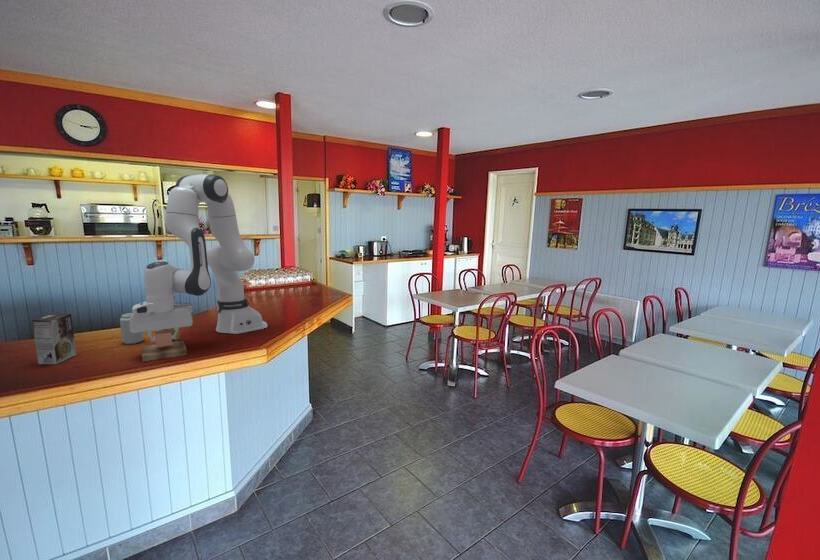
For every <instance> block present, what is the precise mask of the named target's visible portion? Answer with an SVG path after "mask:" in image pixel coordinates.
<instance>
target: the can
mask: <svg viewBox="0 0 820 560" xmlns="http://www.w3.org/2000/svg"><path fill="white" fill-rule="evenodd" d="M132 313H133V312H129V313H123V314H122V315H121V317H120V318H119V324H120V335H121V336H120V337H121V343H123V344H125V345H135V344H136V343H137V344H140V343H142V342H143V341H144V340H145V332H139V333H132V332H130V317H131V314H132ZM141 341H142V342H141ZM139 342H140V343H139ZM137 344H136V345H137Z"/></svg>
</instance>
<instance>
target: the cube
mask: <svg viewBox="0 0 820 560" xmlns="http://www.w3.org/2000/svg"><path fill="white" fill-rule="evenodd" d="M154 333H155V334H154V335H155V337H156V342H155V344H156V347H163V346H170V345H172V337H171V330H170V329H169V330H155V331H154Z"/></svg>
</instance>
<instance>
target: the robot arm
mask: <svg viewBox="0 0 820 560" xmlns="http://www.w3.org/2000/svg"><path fill="white" fill-rule="evenodd" d="M168 193H169V194H168V198H167V200H166V201H167V202H166V208H165V225H166V228H167V230H168V231H169V232H170V234H172V235H173V236H175V237H176V238H178V239H180V240H182V241H183V242H184V243H185V244H186V245H187V247H188V249H189V257H190V269H187V268H179V267H176V266H173V265H172V264H170V263H169V262H168V261H155V262H151V263H149V264H147V265H146V266H145V268H144V269H145V270H144V274H143V275H144V277H143V278H144V288H145V290H146V296H145V301H143V302H140V303H137V304H134V305H133V306H132V308H131V311H132V312H131V313H132V314H131V317H130V332H132V333H139V332H144V333H146V335H147V336H148V337H149V338H150V339H151V340H150V341H151V343H156V337H155V336H153V335H152V332H153V331H154V332H155V331H160V330H164V329H172V328H174V331H175V332H174V333H173V334H171V337H172V340H173V339H176V334H177V332H178V328H179V329H180V328H185V327H192V325H193V324H194V322H193V320H194V319H193V314H192V313H193V311H194V309H193V305H192V304H191V303H188V302H183V303H175V299H174V297H175V295H174V293H179V294H184V295H185V294H186V295H190V296H191V295H192V296H196V297H199V296H202V295H204V294H206V293H207V292H208V290H210V287H211V284H212V279H211V274H210V272H209V268H210V269H211V271H212V274H213V277H214V279H215V283H216V287H217V288H216V289H217V301H216V309H217V313H218V315H217V323H216V324H217V325H216V328H215V331H216V332H217V333H221V334H233V335H239V334H243V333H249V332H252V331H253V332H254V331H259V330H265V329H267V328H268V322H266V321H264V320H263V316H262V314H261V313H260V312H259V311H258V310H256V309H254V308H253V307H251V305H252V301H251V300H249V299H247V298H245V290H244V288H245V287H244V286H245V285H244V282H243V280H242V279H241V278H240V277H239V275H238V274H237V272H245V271H249V270H250V269H252V267H253V266H254V264H255V254H254V252H252V251H251V250H250V249H249V248H248V247H247V246H246V244H245V242H244V240H243V239H242V236H241V234H240V231H239V226H238V220H237V213H236V209H235V205H234V202H233V201H234V200H233V199H232V195H231V194H230V193H229V186H228V184H227V182H226V180H225V179H224V178H223V177H222V176H221V175H218V174H213V173H212V174H205V173H202V174H200V173H198V174H194V175H185V176H181V177H180V178H178V180H177V181H176V182H175V185H174V187H173V188H171V190H169V192H168ZM201 203H205V205H206V207H207V215H208V222H209V227H210V233H211V235H212V236H213V238H215V239H216V241H217V242H218V243H219V245H215V246H211V247H209V248H207V243H206V238H205V237H206V236H205V234H204V231H203V230H202V229H201V228H200V222H199V206H200V204H201ZM264 328H265V329H264Z"/></svg>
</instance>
